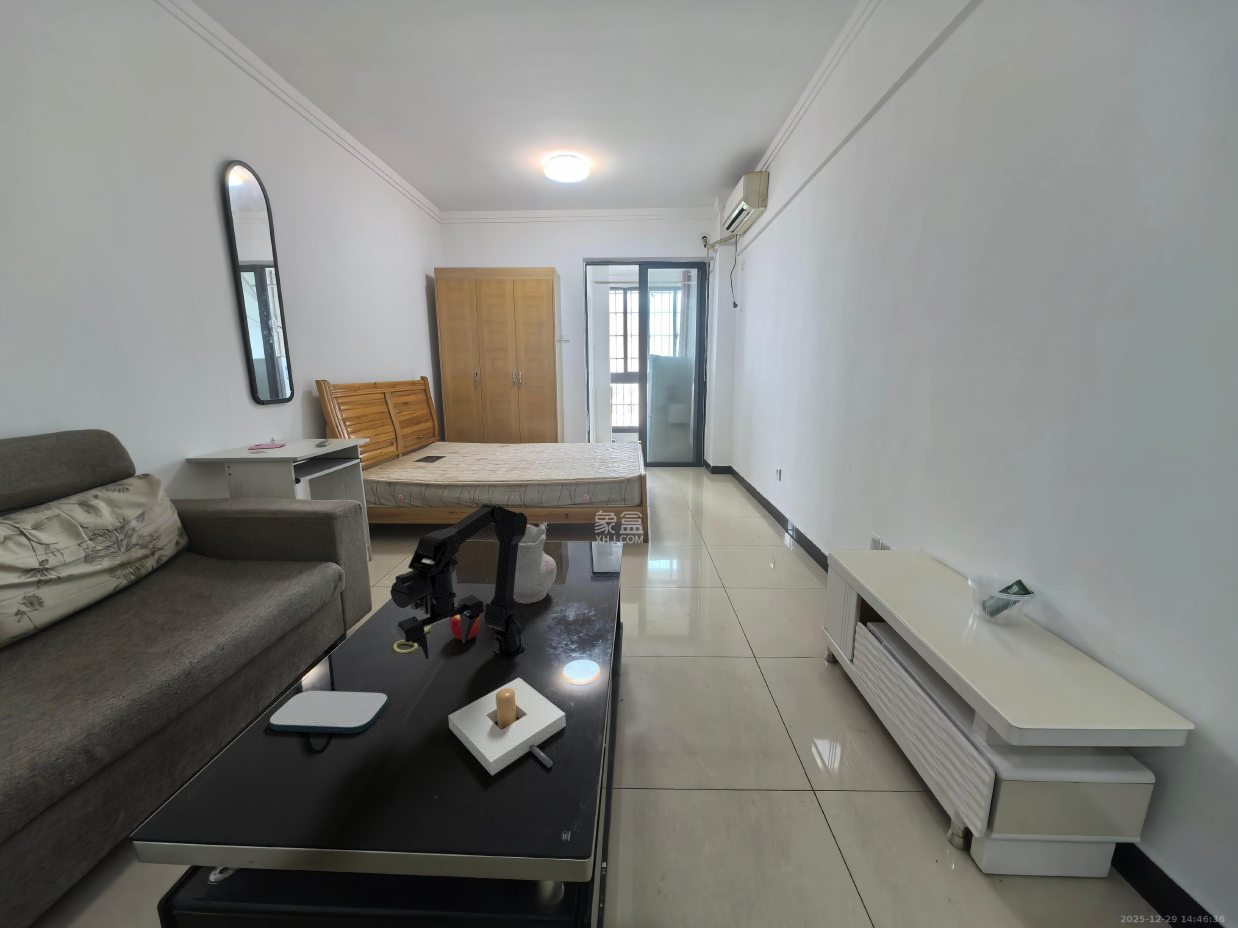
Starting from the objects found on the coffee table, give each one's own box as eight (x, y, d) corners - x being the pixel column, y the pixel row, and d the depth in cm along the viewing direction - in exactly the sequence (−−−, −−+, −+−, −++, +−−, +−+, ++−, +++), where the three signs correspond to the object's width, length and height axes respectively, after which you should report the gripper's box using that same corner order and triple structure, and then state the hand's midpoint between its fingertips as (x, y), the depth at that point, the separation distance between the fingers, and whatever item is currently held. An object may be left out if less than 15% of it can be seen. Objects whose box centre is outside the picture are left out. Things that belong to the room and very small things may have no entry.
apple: (445, 641, 137) (442, 609, 135) (467, 627, 144) (464, 596, 142) (466, 648, 133) (463, 615, 131) (487, 633, 140) (484, 602, 138)
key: (433, 630, 143) (432, 624, 143) (413, 654, 131) (412, 647, 131) (410, 630, 144) (409, 624, 143) (388, 654, 132) (387, 647, 131)
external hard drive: (394, 699, 113) (393, 692, 113) (365, 736, 102) (364, 728, 101) (301, 696, 115) (300, 689, 115) (262, 732, 104) (261, 724, 103)
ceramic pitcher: (549, 615, 152) (551, 542, 147) (489, 611, 152) (489, 538, 148) (559, 586, 173) (561, 521, 169) (506, 582, 174) (507, 517, 169)
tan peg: (510, 717, 106) (508, 685, 104) (520, 726, 103) (518, 693, 101) (494, 726, 103) (492, 694, 102) (504, 736, 100) (502, 703, 99)
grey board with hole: (519, 688, 116) (519, 677, 115) (585, 741, 98) (584, 728, 98) (449, 727, 103) (448, 715, 103) (510, 796, 86) (509, 782, 85)
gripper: (461, 566, 120) (466, 622, 123) (384, 591, 107) (391, 653, 110) (483, 579, 113) (488, 639, 116) (403, 607, 100) (410, 673, 103)
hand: (445, 650), depth 111 cm, fingers open, 9 cm apart
